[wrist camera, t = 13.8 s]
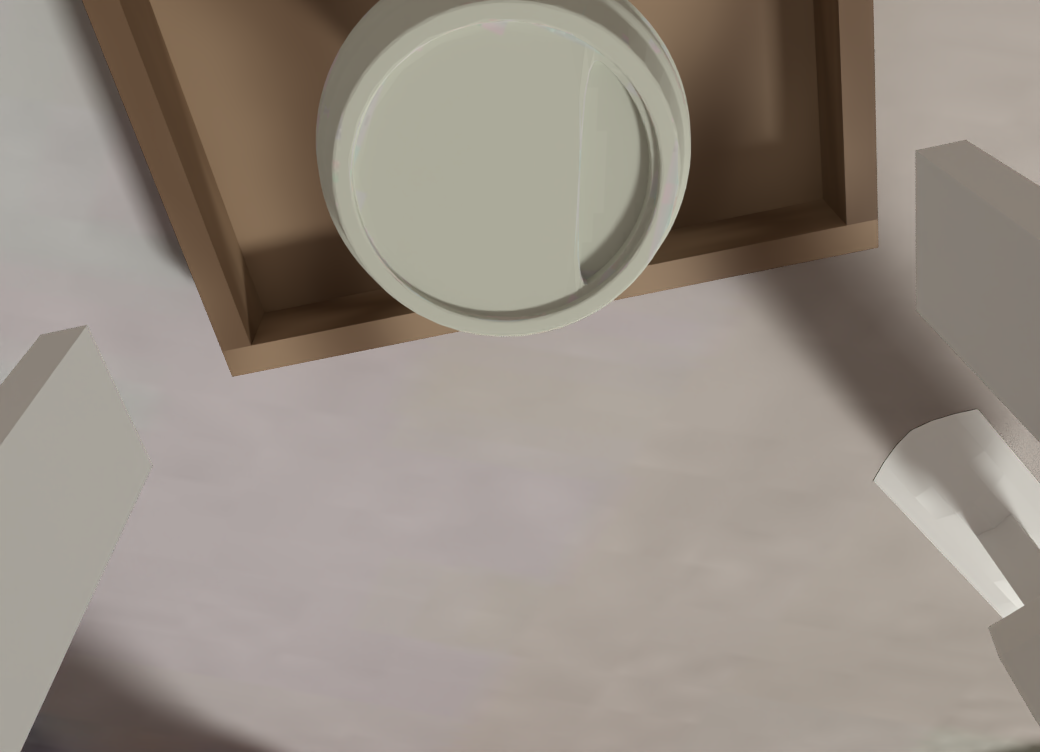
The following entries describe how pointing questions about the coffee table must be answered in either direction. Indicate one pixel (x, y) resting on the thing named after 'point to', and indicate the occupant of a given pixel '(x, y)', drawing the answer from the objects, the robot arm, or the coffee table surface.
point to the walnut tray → (307, 222)
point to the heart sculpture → (978, 526)
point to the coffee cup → (503, 156)
